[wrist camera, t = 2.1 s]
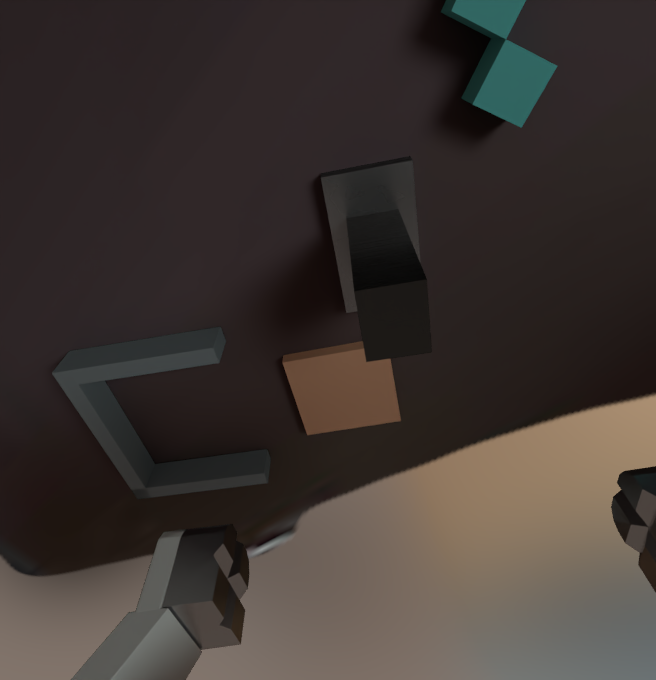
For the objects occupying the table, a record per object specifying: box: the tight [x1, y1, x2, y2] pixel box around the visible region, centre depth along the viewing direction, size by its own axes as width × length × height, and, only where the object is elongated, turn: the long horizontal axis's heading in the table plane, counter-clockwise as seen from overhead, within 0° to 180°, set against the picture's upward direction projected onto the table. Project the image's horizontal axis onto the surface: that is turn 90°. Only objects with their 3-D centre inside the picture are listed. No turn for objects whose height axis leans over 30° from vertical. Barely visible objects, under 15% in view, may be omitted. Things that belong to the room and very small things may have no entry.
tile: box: [282, 341, 401, 435], centre depth 27 cm, size 6×6×1 cm
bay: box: [52, 327, 271, 499], centre depth 28 cm, size 9×11×2 cm
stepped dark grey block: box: [321, 156, 432, 362], centre depth 19 cm, size 4×7×8 cm, turn 11°
